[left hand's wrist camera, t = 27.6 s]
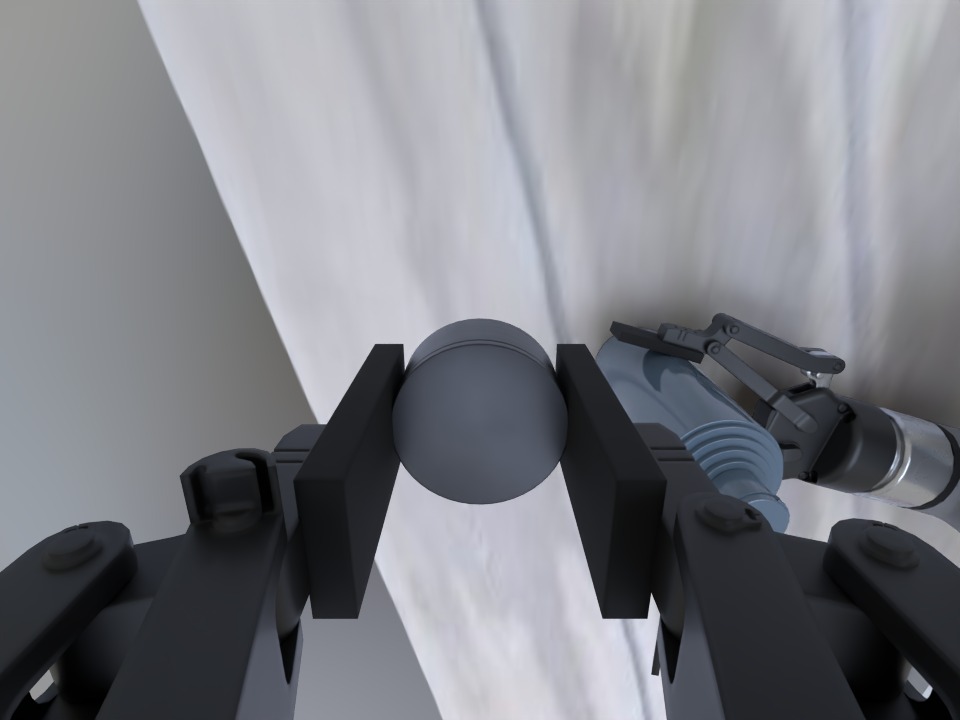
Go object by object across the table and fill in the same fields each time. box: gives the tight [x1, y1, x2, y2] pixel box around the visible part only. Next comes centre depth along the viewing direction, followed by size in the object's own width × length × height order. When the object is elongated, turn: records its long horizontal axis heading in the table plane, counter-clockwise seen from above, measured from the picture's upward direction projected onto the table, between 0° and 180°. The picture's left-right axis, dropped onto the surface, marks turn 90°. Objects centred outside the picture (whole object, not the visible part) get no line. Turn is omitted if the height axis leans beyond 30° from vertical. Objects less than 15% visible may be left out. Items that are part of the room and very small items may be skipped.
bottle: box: [596, 328, 790, 534], centre depth 36 cm, size 7×7×22 cm
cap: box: [392, 319, 568, 504], centre depth 13 cm, size 4×4×2 cm
